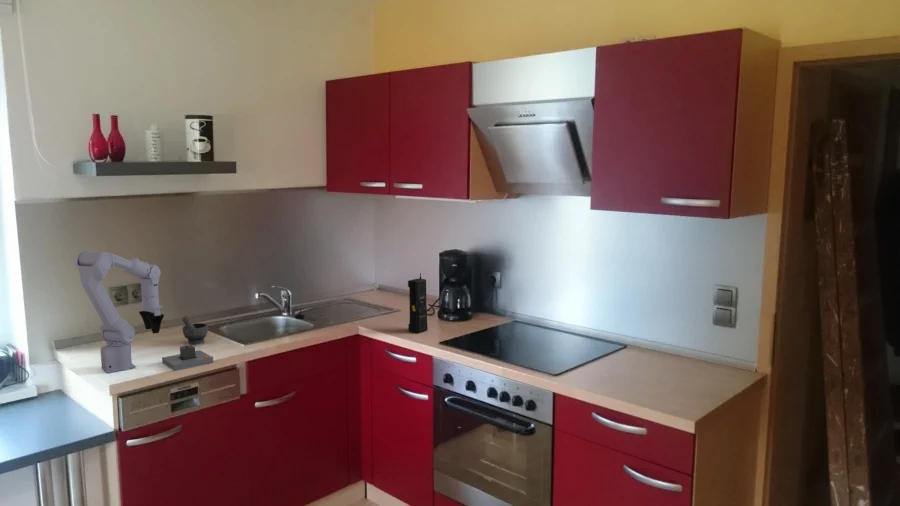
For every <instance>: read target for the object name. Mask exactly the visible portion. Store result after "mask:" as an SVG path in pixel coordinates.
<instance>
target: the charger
mask: <svg viewBox="0 0 900 506" xmlns="http://www.w3.org/2000/svg"><path fill="white" fill-rule="evenodd" d="M184 344H185V345H182V346H180V347H179V354H180V358H181V360H188V359H193V358H196V357H195V351H196V347H195V345H190V344H188V343H184Z"/></svg>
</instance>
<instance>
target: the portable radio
mask: <svg viewBox="0 0 900 506" xmlns="http://www.w3.org/2000/svg"><path fill="white" fill-rule="evenodd" d="M421 275H422V273H419V278H414V279H410V280H407V287H408V288H409V324H408V325H407V326H408V327H407V328H408V332H410V333H414V334H420V333H423V332H427V331H428V329H429V328H428V310H427V309H428V308H427V306H428V305H427V279H425V278H422V277H421Z"/></svg>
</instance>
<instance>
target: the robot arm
mask: <svg viewBox="0 0 900 506" xmlns="http://www.w3.org/2000/svg"><path fill="white" fill-rule="evenodd" d="M75 267H76V268H77V270H78V272H79V276H80V277H79V278H80V284H81V286H82V288H83V289H84V291H85V293H86V294H87V296H88V298H89V300H90V302H91V304H92V306H93V307H94V309H95V311H96V313H97V315H98V316H99V318H100V320H101V322H102V323H101V325H100V326H99V330H100V332H101V338H102V339H103V341H105V344H106V345H103V346H101V347H100V360H101V370H103V371H104V372H105V373H107V374H109V373H115V372H116V373H117V372H121V371H125V370H130V369H135V368H137V366H136V365H135V364H133V363H132V362H133V361H132V360H133V359H132V346H131V344H132V343H133V340H134V339H135V337H136V331H135V328H134V327H133V326H132V325H130V324H129V322H128V321H127V320H125V319H124V318H122V317H121V316H120V315H119V312H118V311H117V309H116V307H115V305H114V303H113V302H112V300H111V297H110V296H109V294H108V292H107V290H106V288H105V287H104V284H103V283H102V280H104V279H105V277H106V275H107V274H108V272H109V271H110V269H111V267H117V268H121V269H123V270H124V272H125V274H129V275H131V276H134V277H137V278H138V279H139V280H140V287H141V303H142V304H141V311H140V310H139V312H138V314H139V315H140V316H141V318H142V320H143V325H144V328H145V330H151V332H152V334H158V333H160V330H161V323H162V321H163V319H164V317H165V314H164V313H161V309H162V308H164V307H163V305H162V304H161V305H160V299H159V298H160V297H159V283H160V278H161V273H162V271H161V270H160V267H158V265H156V264H151V263H150V264H149V262H148V261H145V260H144V261H142V260H140V259H139V258H138V257H133V258H129V259H126V258H123V257H122V256H119V255H116V254H115V253H112V252H107V251H103V252H101V251H89V250H83V251H81V252H79V254H77V258H76V260H75Z"/></svg>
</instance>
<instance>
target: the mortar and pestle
mask: <svg viewBox="0 0 900 506" xmlns="http://www.w3.org/2000/svg"><path fill="white" fill-rule="evenodd" d="M181 321H182V322H183V324H184V325H183V326H182V334H183V335H184V337H185V338H186V340H188V341H187V344H189V345H192V346H195V345H201V344H204V343H205V337H207V335H208V333H209V324H207V323H202V322H200V323H199V322H198V323H197V322H195V323H193V322H192V321H191V319H190V316H188V315H187V316H186V315H185V316H183V317H182V319H181Z"/></svg>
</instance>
